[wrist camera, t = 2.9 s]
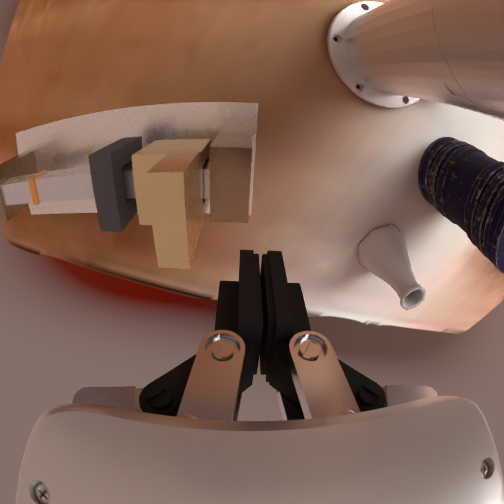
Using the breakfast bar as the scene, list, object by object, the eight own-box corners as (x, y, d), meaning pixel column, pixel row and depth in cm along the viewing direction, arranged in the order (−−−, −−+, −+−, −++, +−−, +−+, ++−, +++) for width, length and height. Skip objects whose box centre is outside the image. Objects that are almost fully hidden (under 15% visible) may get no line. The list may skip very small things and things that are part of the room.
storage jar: (477, 151, 25) (556, 199, 12) (455, 213, 30) (520, 277, 18) (430, 124, 24) (524, 166, 11) (407, 197, 29) (480, 270, 17)
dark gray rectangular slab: (141, 136, 22) (110, 153, 16) (146, 199, 25) (122, 231, 20) (122, 137, 22) (88, 155, 16) (128, 199, 25) (101, 231, 20)
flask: (367, 278, 36) (393, 330, 28) (348, 243, 33) (376, 297, 24) (409, 252, 34) (443, 300, 25) (395, 214, 30) (435, 260, 22)
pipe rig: (258, 103, 24) (262, 107, 17) (251, 211, 30) (252, 254, 23) (20, 131, 22) (-24, 151, 15) (35, 211, 29) (0, 243, 22)
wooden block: (210, 136, 22) (183, 172, 13) (210, 199, 25) (189, 269, 16) (155, 138, 21) (97, 175, 13) (159, 199, 25) (116, 264, 16)
